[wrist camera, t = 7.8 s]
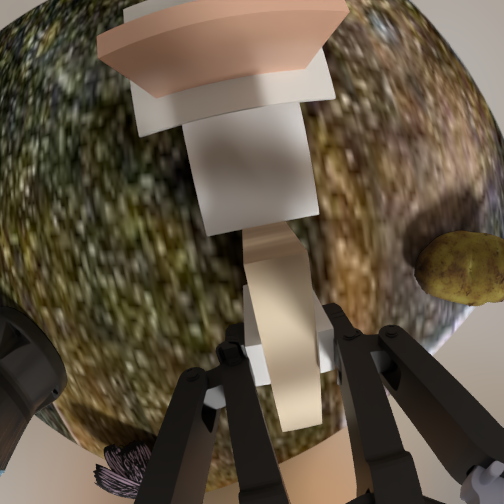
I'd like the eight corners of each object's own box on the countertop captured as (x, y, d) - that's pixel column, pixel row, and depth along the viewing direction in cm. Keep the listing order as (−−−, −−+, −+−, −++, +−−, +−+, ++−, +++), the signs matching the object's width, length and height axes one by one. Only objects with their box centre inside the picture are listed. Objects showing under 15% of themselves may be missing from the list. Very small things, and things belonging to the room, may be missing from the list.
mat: (141, 137, 19) (139, 136, 19) (125, 12, 15) (123, 9, 14) (333, 99, 19) (335, 97, 18) (293, -22, 15) (294, -25, 14)
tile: (156, 98, 18) (97, 58, 8) (153, 82, 17) (96, 35, 8) (304, 69, 18) (349, 11, 8) (300, 53, 17) (340, -10, 8)
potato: (426, 200, 22) (483, 218, 14) (489, 236, 24) (533, 257, 16) (399, 278, 24) (444, 317, 17) (465, 296, 26) (504, 326, 18)
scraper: (329, 356, 21) (353, 414, 15) (246, 373, 21) (249, 436, 15) (296, 104, 15) (329, 72, 8) (183, 125, 15) (150, 104, 9)
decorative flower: (182, 516, 27) (94, 508, 20) (167, 471, 37) (91, 460, 31) (203, 476, 27) (93, 466, 20) (182, 425, 37) (94, 410, 31)
